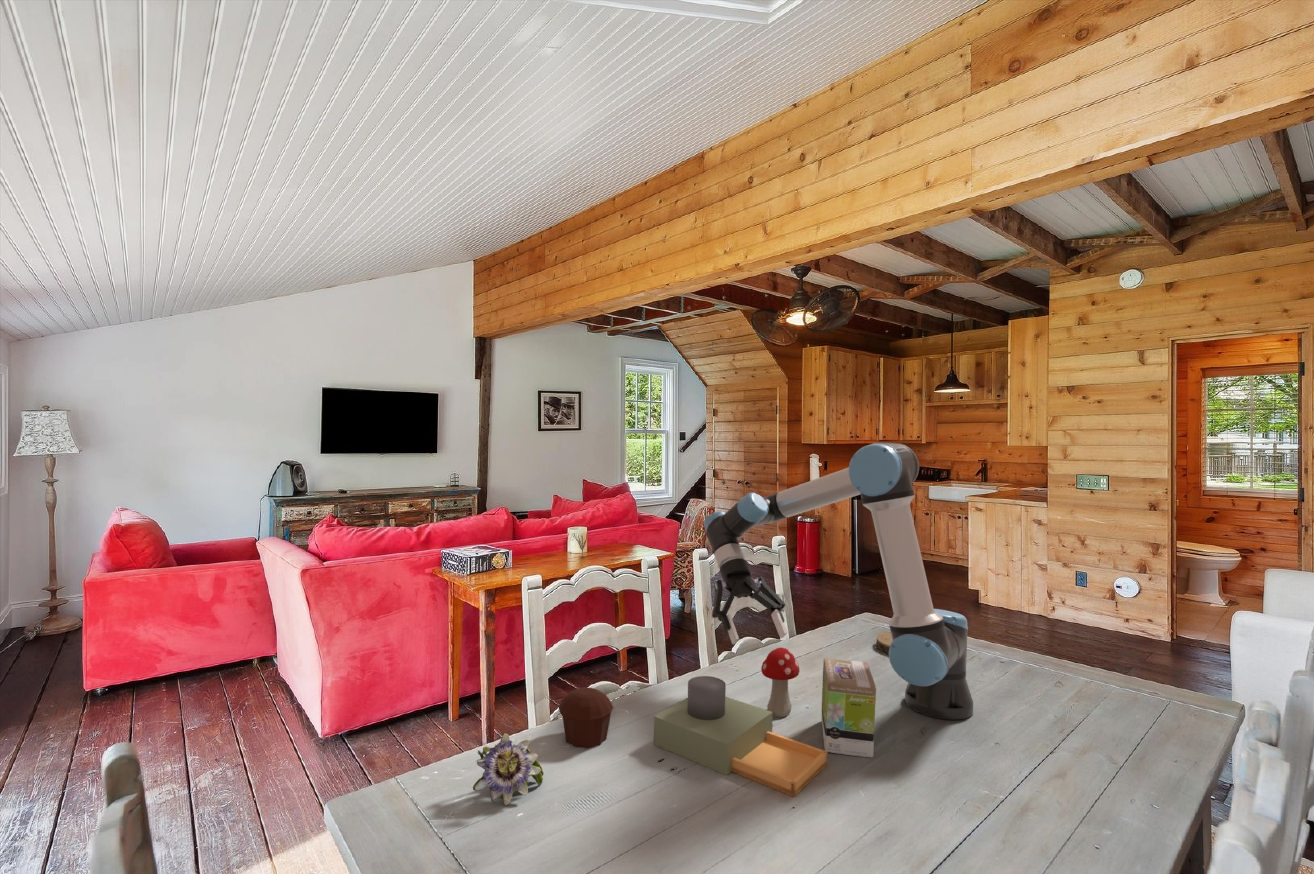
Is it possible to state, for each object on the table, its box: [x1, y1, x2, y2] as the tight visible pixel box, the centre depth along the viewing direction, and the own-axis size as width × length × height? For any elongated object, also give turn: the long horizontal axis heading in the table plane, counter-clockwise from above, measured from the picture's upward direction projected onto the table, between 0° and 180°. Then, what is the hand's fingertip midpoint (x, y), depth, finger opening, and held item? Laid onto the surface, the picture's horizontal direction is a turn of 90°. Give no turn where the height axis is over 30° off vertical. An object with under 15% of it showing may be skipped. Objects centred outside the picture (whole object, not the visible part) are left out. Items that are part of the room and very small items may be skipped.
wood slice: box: [875, 631, 893, 655], centre depth 194 cm, size 16×16×3 cm
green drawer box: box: [653, 675, 829, 798], centre depth 131 cm, size 31×18×12 cm, turn 52°
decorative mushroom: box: [760, 647, 800, 718], centre depth 150 cm, size 10×9×15 cm
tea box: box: [821, 657, 877, 758], centre depth 138 cm, size 15×10×15 cm, turn 168°
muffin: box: [558, 687, 615, 749], centre depth 136 cm, size 12×11×10 cm
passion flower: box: [472, 732, 545, 807], centre depth 117 cm, size 11×11×12 cm
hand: (760, 638), depth 158 cm, fingers open, 13 cm apart
